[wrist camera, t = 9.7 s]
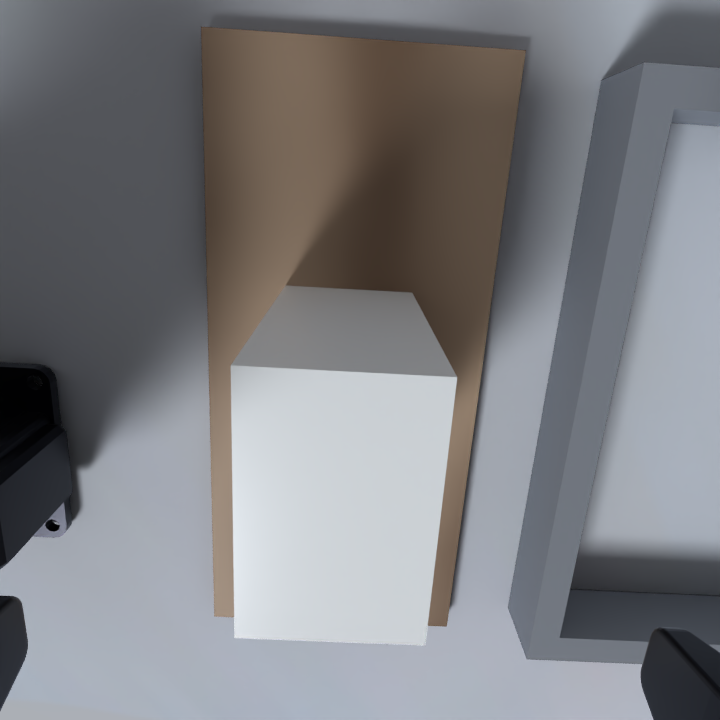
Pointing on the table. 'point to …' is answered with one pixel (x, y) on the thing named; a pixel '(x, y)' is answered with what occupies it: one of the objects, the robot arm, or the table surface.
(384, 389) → the block
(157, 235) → the table surface
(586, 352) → the case
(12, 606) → the robot arm
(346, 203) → the walnut board
